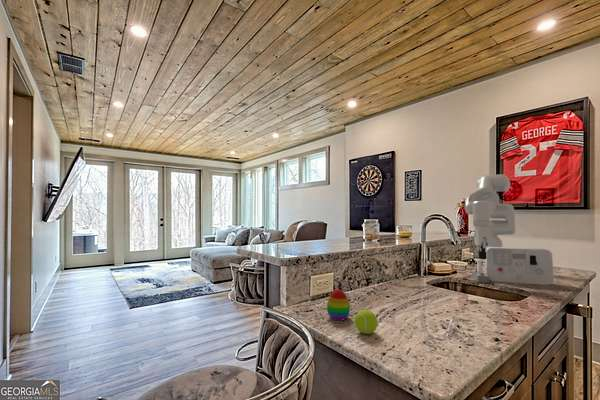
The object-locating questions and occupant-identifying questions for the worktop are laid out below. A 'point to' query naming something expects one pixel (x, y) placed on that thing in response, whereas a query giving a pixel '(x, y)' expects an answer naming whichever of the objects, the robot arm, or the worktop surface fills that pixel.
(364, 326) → the tennis ball
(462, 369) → the worktop surface
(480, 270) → the breaker handle
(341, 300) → the decorative egg
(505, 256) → the rounded white slab
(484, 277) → the breaker block
